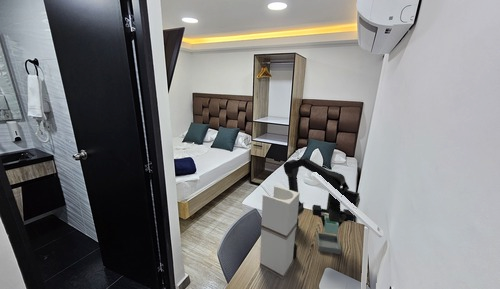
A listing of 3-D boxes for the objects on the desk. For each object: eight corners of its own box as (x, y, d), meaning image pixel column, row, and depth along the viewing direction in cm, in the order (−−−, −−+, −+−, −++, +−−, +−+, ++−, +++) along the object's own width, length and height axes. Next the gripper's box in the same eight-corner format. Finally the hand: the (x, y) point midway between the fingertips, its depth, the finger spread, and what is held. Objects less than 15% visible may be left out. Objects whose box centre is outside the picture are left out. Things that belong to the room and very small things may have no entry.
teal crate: (324, 232, 99) (325, 223, 98) (323, 224, 105) (324, 216, 103) (337, 234, 98) (338, 225, 96) (335, 226, 103) (336, 218, 102)
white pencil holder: (293, 262, 92) (299, 192, 83) (283, 279, 83) (289, 203, 75) (271, 251, 98) (275, 185, 90) (259, 266, 89) (262, 194, 81)
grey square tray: (318, 251, 100) (318, 245, 99) (316, 237, 109) (317, 232, 109) (340, 255, 97) (341, 250, 97) (336, 240, 107) (337, 235, 106)
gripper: (315, 205, 92) (311, 234, 95) (360, 211, 87) (354, 242, 91) (313, 193, 102) (310, 220, 106) (353, 199, 98) (349, 227, 102)
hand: (330, 227), depth 101 cm, fingers closed on teal crate, 6 cm apart
